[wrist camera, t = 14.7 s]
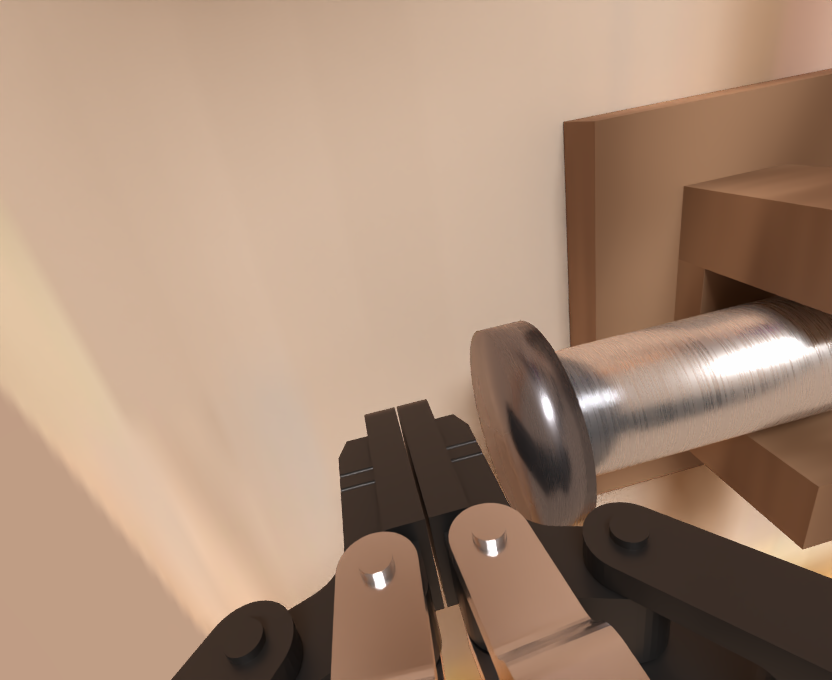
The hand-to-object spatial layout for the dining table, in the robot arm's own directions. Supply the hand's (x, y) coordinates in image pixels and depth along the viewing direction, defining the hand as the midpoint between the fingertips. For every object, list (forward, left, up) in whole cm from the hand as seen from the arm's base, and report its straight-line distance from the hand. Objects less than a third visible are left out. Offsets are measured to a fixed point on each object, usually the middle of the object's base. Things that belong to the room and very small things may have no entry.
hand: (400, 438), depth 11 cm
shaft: (-12, 0, -2) cm, 12 cm away
